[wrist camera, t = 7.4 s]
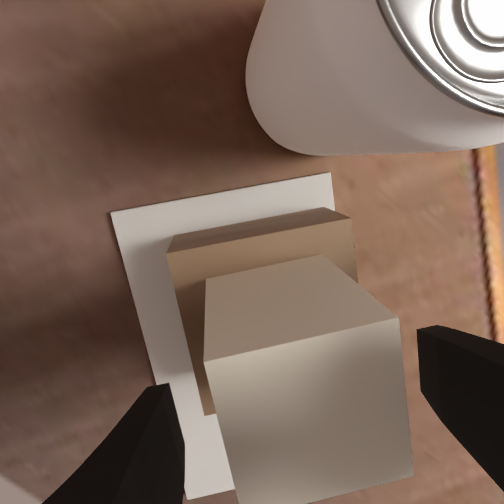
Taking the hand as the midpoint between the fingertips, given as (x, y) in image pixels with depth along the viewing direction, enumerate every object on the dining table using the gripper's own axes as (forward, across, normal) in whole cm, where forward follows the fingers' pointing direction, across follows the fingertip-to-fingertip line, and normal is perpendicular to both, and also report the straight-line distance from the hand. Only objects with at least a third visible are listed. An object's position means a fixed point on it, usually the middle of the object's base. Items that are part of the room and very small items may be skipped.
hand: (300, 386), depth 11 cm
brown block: (+8, 0, 0) cm, 8 cm away
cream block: (+4, 0, 0) cm, 4 cm away
